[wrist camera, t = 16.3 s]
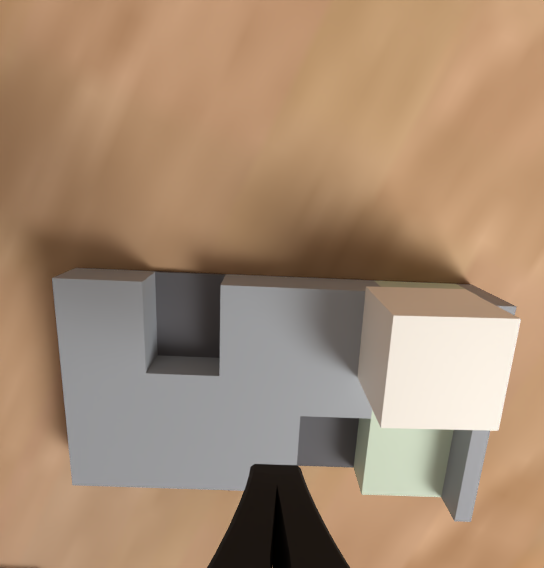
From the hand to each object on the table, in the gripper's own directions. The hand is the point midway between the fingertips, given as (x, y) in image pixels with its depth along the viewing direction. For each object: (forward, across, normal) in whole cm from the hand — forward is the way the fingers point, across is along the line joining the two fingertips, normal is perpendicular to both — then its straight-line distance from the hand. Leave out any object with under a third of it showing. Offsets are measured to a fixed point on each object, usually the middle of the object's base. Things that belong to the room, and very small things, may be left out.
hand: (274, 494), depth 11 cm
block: (+8, -6, -2) cm, 10 cm away
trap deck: (+10, 0, +2) cm, 10 cm away
